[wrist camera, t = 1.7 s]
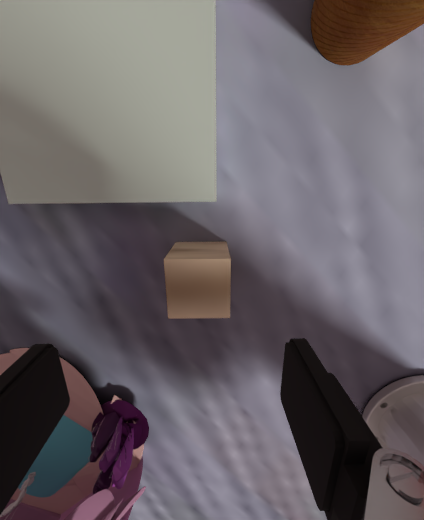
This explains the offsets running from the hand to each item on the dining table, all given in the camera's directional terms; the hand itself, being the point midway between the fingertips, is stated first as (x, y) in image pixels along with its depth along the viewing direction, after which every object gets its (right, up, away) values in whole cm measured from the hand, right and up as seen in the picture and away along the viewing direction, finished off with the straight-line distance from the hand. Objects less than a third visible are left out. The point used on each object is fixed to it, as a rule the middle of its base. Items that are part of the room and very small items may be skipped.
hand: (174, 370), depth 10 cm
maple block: (+1, +4, +14) cm, 15 cm away
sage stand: (-7, +18, +10) cm, 22 cm away
